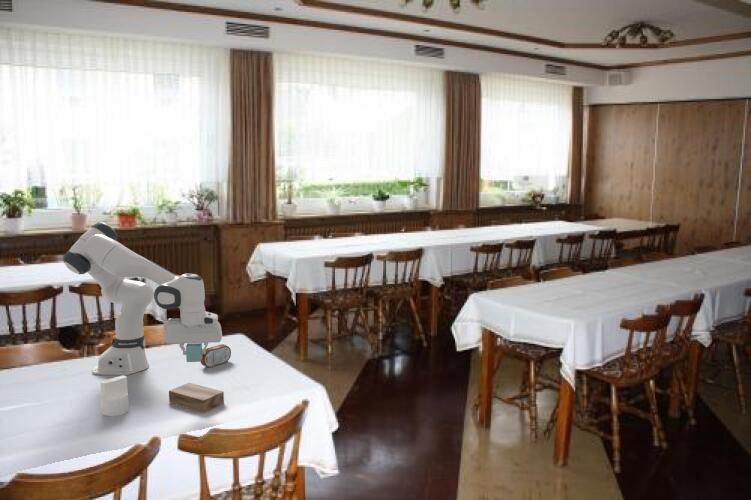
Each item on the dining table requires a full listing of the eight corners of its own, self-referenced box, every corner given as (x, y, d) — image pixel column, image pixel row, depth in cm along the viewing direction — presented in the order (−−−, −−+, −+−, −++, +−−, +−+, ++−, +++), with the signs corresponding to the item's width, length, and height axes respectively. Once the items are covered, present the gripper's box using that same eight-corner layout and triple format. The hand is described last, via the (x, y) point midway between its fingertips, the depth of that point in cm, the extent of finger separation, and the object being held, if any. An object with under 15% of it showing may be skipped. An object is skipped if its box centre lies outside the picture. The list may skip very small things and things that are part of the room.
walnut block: (204, 413, 227) (203, 400, 226) (169, 403, 236) (168, 390, 235) (223, 404, 235) (223, 391, 235) (189, 394, 244) (188, 382, 244)
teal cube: (186, 362, 230) (185, 346, 229) (188, 357, 235) (187, 342, 234) (200, 361, 231) (200, 345, 230) (202, 357, 236) (201, 341, 235)
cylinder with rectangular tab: (120, 404, 234) (119, 373, 232) (133, 410, 228) (131, 378, 226) (97, 411, 227) (95, 379, 225) (109, 418, 221) (107, 385, 220)
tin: (228, 359, 285) (227, 342, 283) (232, 361, 283) (232, 343, 282) (199, 368, 273) (199, 349, 272) (204, 370, 271) (203, 351, 270)
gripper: (162, 320, 226) (163, 357, 228) (220, 319, 229) (221, 355, 231) (165, 316, 232) (166, 352, 234) (222, 314, 235) (223, 350, 237)
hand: (194, 354), depth 233 cm, fingers closed on teal cube, 5 cm apart
